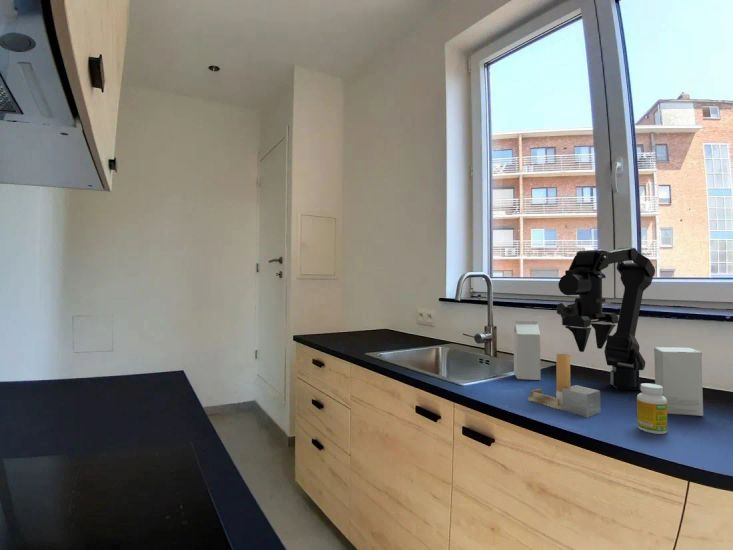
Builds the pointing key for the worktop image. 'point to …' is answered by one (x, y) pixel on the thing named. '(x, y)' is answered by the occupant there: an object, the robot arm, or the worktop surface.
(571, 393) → the socket
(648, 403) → the supplement bottle
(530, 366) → the milk carton
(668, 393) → the skincare box
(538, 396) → the cradle
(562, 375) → the orange upright rod
